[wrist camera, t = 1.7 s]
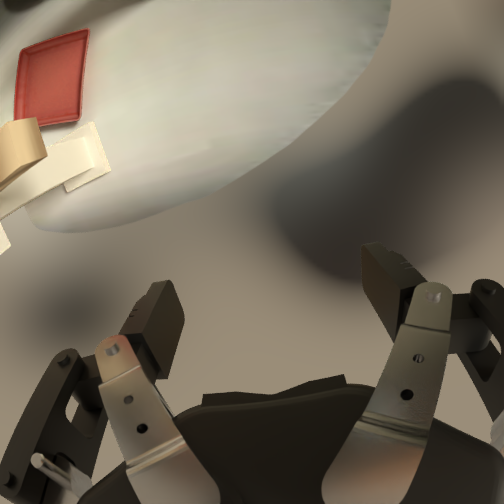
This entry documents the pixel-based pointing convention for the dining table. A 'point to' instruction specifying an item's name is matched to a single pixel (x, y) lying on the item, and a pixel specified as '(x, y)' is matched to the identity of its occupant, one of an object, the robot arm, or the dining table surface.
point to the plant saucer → (52, 79)
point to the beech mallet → (19, 149)
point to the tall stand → (56, 172)
